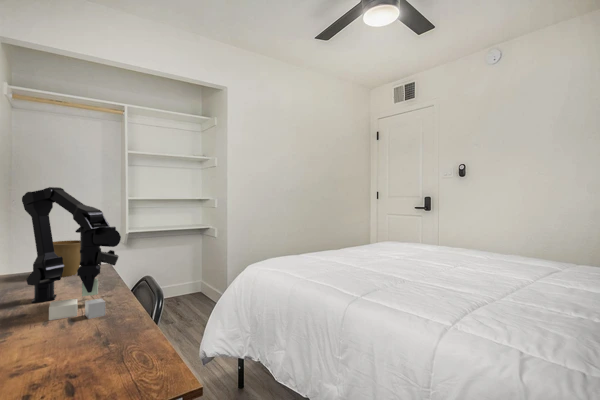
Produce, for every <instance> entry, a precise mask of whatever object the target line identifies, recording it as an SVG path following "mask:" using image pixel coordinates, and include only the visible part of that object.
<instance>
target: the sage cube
mask: <svg viewBox="0 0 600 400" xmlns="http://www.w3.org/2000/svg"><path fill="white" fill-rule="evenodd" d="M95 295H99V278H95V279H94V284H93V289H92V292H90V293H88V292H87V290H86V288H85V286H84V284H83V282H82V281H81V297H89V296H95Z"/></svg>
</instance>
